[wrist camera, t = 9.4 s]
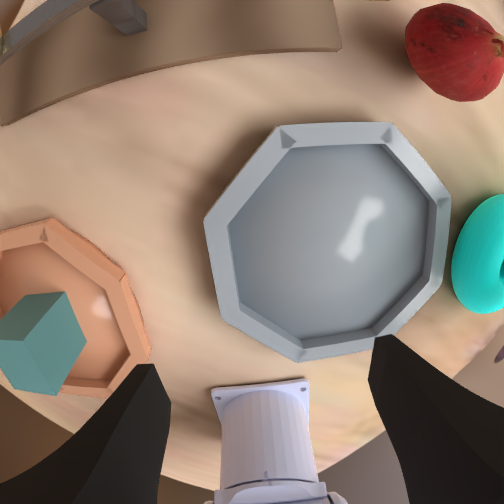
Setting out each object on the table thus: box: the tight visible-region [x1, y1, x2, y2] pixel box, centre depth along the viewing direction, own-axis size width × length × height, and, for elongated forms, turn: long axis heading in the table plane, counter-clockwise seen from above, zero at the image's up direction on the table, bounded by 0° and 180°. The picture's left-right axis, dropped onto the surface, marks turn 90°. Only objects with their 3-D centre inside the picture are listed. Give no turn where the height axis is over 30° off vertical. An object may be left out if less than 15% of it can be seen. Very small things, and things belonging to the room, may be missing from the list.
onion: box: [405, 3, 504, 102], centre depth 11 cm, size 6×6×8 cm
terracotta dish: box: [0, 218, 152, 398], centre depth 19 cm, size 15×15×2 cm
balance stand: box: [0, 0, 342, 126], centre depth 11 cm, size 22×6×6 cm, turn 97°
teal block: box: [0, 291, 87, 396], centre depth 17 cm, size 4×4×6 cm
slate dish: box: [203, 122, 452, 363], centre depth 18 cm, size 15×15×2 cm
